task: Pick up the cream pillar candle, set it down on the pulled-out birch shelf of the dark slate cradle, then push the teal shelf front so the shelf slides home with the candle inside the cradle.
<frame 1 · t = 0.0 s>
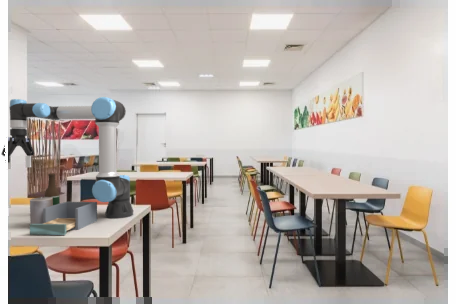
hand: (19, 168, 160), 28 cm above the table, fingers open, 13 cm apart
cradle: (71, 224, 149), on the table
pillar candle: (41, 226, 147), on the table
beer bottle: (52, 215, 173), on the table
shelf: (59, 224, 140), point 3 cm above the table, slide at 8.0 cm
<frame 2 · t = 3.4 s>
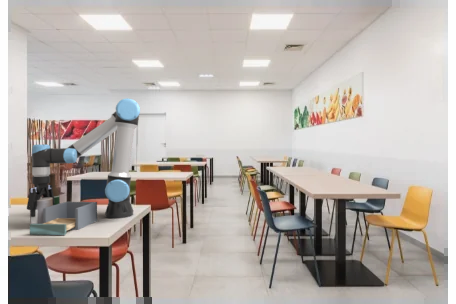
hand: (41, 220, 147), 3 cm above the table, fingers closed on pillar candle, 10 cm apart
pillar candle: (41, 226, 147), on the table, touching gripper
everything else where it was.
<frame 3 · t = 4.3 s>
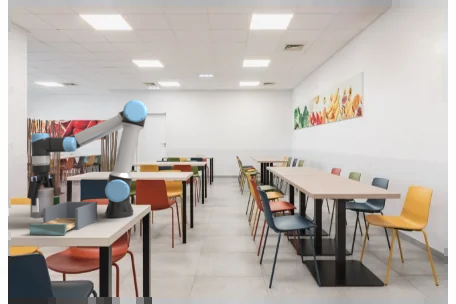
hand: (42, 209, 147), 8 cm above the table, fingers closed on pillar candle, 10 cm apart
pillar candle: (41, 216, 147), point 5 cm above the table, touching gripper
everything else where it was.
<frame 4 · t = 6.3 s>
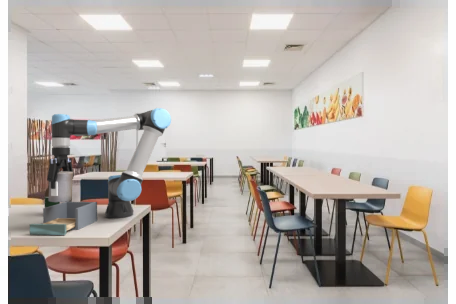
hand: (61, 194, 141), 17 cm above the table, fingers closed on pillar candle, 10 cm apart
pillar candle: (59, 201, 141), point 13 cm above the table, touching gripper
everything else where it was.
when the fingers open (6 cm above the table, at t = 8.3 s): pillar candle stays where it is, resting on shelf.
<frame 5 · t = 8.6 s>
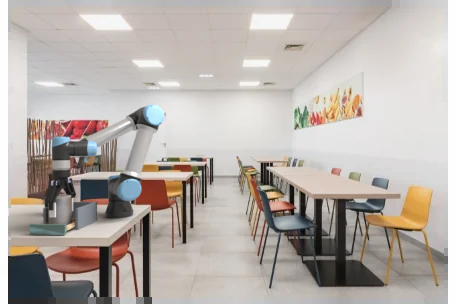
hand: (61, 214, 141), 7 cm above the table, fingers open, 13 cm apart
pillar candle: (60, 225, 141), point 2 cm above the table, touching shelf
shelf: (59, 224, 140), point 3 cm above the table, slide at 8.0 cm, touching pillar candle
everything else where it was.
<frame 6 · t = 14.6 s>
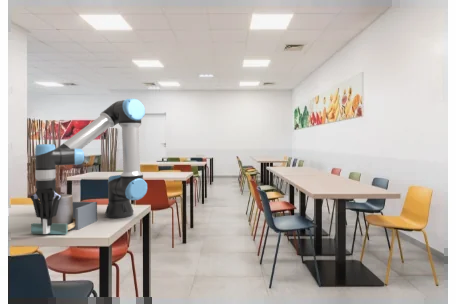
hand: (46, 233, 130), 1 cm above the table, fingers closed
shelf: (61, 224, 141), point 3 cm above the table, slide at 7.1 cm, touching gripper, pillar candle
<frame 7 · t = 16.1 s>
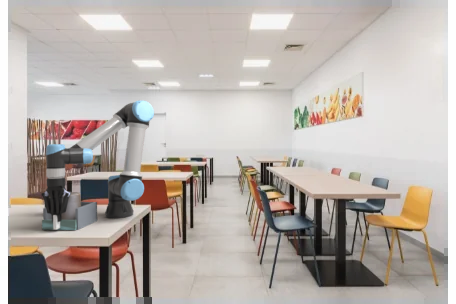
hand: (56, 228, 137), 1 cm above the table, fingers closed
pillar candle: (70, 221, 149), point 2 cm above the table, touching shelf
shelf: (69, 220, 148), point 3 cm above the table, slide at 0.0 cm, touching gripper, pillar candle
everything else where it was.
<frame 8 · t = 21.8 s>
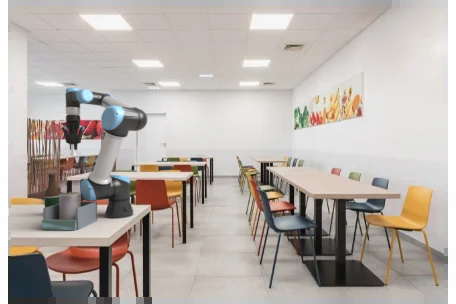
hand: (73, 155, 174), 34 cm above the table, fingers closed
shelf: (69, 220, 148), point 3 cm above the table, slide at 0.1 cm, touching pillar candle
everything else where it was.
at the end: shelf slide at 0.1 cm; pillar candle inside the target area on the cradle (0.8 cm from its centre), point 1.8 cm above the cradle's base; pillar candle tilted 0° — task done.
